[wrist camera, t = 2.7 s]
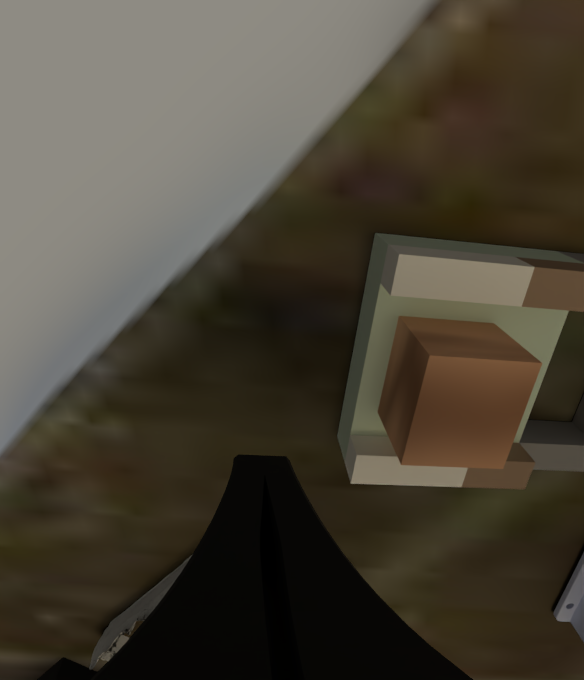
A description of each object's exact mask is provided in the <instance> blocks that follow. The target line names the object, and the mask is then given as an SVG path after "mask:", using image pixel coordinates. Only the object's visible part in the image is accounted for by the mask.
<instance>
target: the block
mask: <svg viewBox="0 0 584 680" xmlns="http://www.w3.org/2000/svg"><path fill="white" fill-rule="evenodd" d="M541 366H542V362H540V361H539V360H538V359H537V358H536V357H534V356H533V355H532V354H531V353H530V352H528V351H527V350H526V349H525V348H523V347H522V346H521V345H520V344H519V343H517V342H516V341H515V340H514V339H513V338H511V337H510V336H509V335H508V334H506V333H505V332H504V331H503V330H502V329H500V328H499V327H498V326H497V325H496V324H494V323H485V322H472V321H459V320H447V319H434V318H421V317H409V316H399V318H398V322H397V327H396V331H395V336H394V340H393V345H392V349H391V354H390V358H389V363H388V367H387V372H386V376H385V381H384V385H383V389H382V394H381V398H380V403H379V407H378V415H379V417H380V419H381V421H382V423H383V426H384V428H385V430H386V432H387V435H388V437H389V439H390V441H391V444H392V446H393V448H394V450H395V453H396V455H397V457H398V459H399V462H400V464H401V465H411V466H437V467H463V468H489V469H503V468H504V465H505V463H506V460H507V457H508V455H509V452H510V449H511V446H512V444H513V441H514V438H515V436H516V433H517V430H518V428H519V425H520V422H521V420H522V417H523V414H524V411H525V409H526V406H527V403H528V401H529V398H530V395H531V393H532V390H533V387H534V385H535V382H536V379H537V376H538V374H539V371H540V368H541Z"/></svg>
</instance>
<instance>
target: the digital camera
mask: <svg viewBox="0 0 584 680" xmlns="http://www.w3.org/2000/svg"><path fill="white" fill-rule="evenodd" d="M59 662H60V663H59ZM57 667H58V668H57ZM56 670H57V671H56ZM55 673H56V674H55ZM96 673H97V672H96V671H93V670H90V669H89V668H87V667H84V666H82V665H80V664H77V663H75V662H73V661H71V660H68V659H66V658H64V657H63V658H62V659H61V660H60V661H58V662H57V663H56V664H55V665H54V666H53V667H52V668H50V669H49V670H48V671H47V672H46V673H45V674H43V675H42V676H41V677H40V678H39V679H38V680H91V679H92V677H93V676H94V675H95V674H96ZM54 676H55V677H54Z"/></svg>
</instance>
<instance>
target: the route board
mask: <svg viewBox="0 0 584 680" xmlns="http://www.w3.org/2000/svg"><path fill="white" fill-rule="evenodd" d="M569 311H579V312H584V254H580V253H570V252H560V251H550V250H540V249H530V248H521V247H511V246H501V245H491V244H481V243H471V242H461V241H451V240H442V239H432V238H422V237H412V236H402V235H392V234H382V233H375V236H374V241H373V247H372V252H371V257H370V263H369V268H368V273H367V279H366V284H365V289H364V295H363V300H362V305H361V311H360V316H359V322H358V327H357V332H356V338H355V343H354V348H353V354H352V359H351V364H350V370H349V375H348V380H347V386H346V391H345V397H344V402H343V407H342V413H341V418H340V423H339V429H338V434H337V437H338V441H339V444H340V448H341V451H342V455H343V458H344V462H345V465H346V469H347V472H348V476H349V479H350V483H351V484H379V485H409V486H440V487H470V488H500V489H525V488H526V485H527V483H528V480H529V478H530V475H531V473H532V470H557V471H583V472H584V394H583V397H582V399H581V402H580V404H579V406H578V409H577V411H576V413H575V416H574V418H573V420H572V422H560V421H541V420H528V418H529V415H530V412H531V410H532V407H533V405H534V402H535V399H536V397H537V394H538V391H539V389H540V386H541V383H542V381H543V378H544V375H545V373H546V370H547V367H548V365H549V362H550V359H551V357H552V354H553V352H554V349H555V346H556V344H557V341H558V338H559V336H560V333H561V330H562V328H563V325H564V322H565V320H566V317H567V314H568V312H569ZM399 316H409V317H421V318H434V319H447V320H459V321H472V322H485V323H494V324H496V325H497V326H498V327H499V328H500V329H502V330H503V331H504V332H505V333H506V334H508V335H509V336H510V337H511V338H513V339H514V340H515V341H516V342H517V343H519V344H520V345H521V346H522V347H523V348H525V349H526V350H527V351H528V352H530V353H531V354H532V355H533V356H534V357H536V358H537V359H538V360H539V361H540V362H542V366H541V368H540V371H539V374H538V376H537V379H536V382H535V385H534V387H533V390H532V393H531V395H530V398H529V401H528V403H527V406H526V409H525V411H524V414H523V417H522V420H521V422H520V425H519V428H518V430H517V433H516V436H515V438H514V441H513V444H512V446H511V449H510V452H509V455H508V457H507V460H506V463H505V465H504V468H503V469H489V468H463V467H437V466H411V465H401V464H400V462H399V459H398V457H397V455H396V453H395V450H394V448H393V446H392V444H391V441H390V439H389V437H388V435H387V432H386V430H385V428H384V426H383V423H382V421H381V419H380V417H379V415H378V407H379V403H380V398H381V394H382V389H383V385H384V381H385V376H386V372H387V367H388V363H389V358H390V354H391V349H392V345H393V340H394V336H395V331H396V327H397V322H398V318H399Z"/></svg>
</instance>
